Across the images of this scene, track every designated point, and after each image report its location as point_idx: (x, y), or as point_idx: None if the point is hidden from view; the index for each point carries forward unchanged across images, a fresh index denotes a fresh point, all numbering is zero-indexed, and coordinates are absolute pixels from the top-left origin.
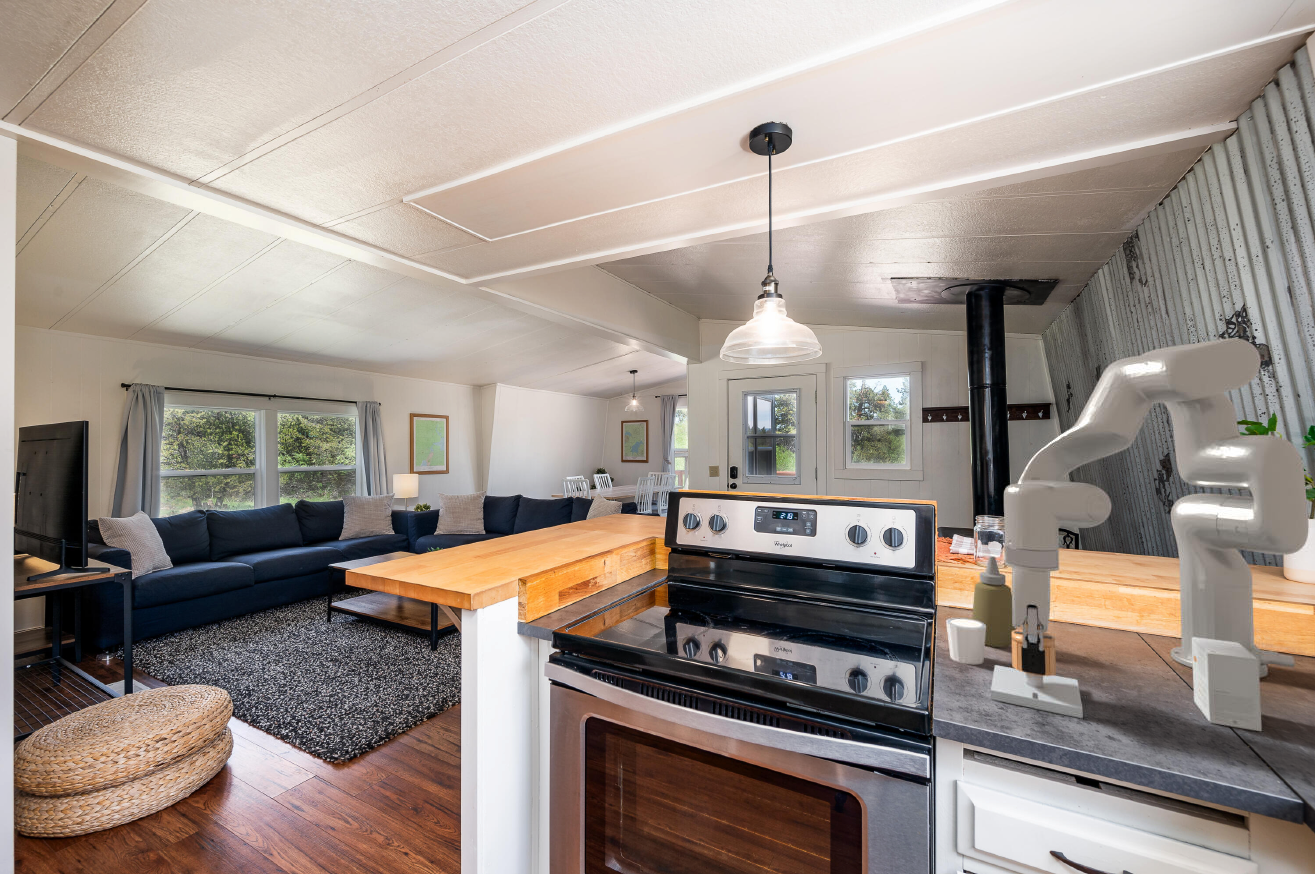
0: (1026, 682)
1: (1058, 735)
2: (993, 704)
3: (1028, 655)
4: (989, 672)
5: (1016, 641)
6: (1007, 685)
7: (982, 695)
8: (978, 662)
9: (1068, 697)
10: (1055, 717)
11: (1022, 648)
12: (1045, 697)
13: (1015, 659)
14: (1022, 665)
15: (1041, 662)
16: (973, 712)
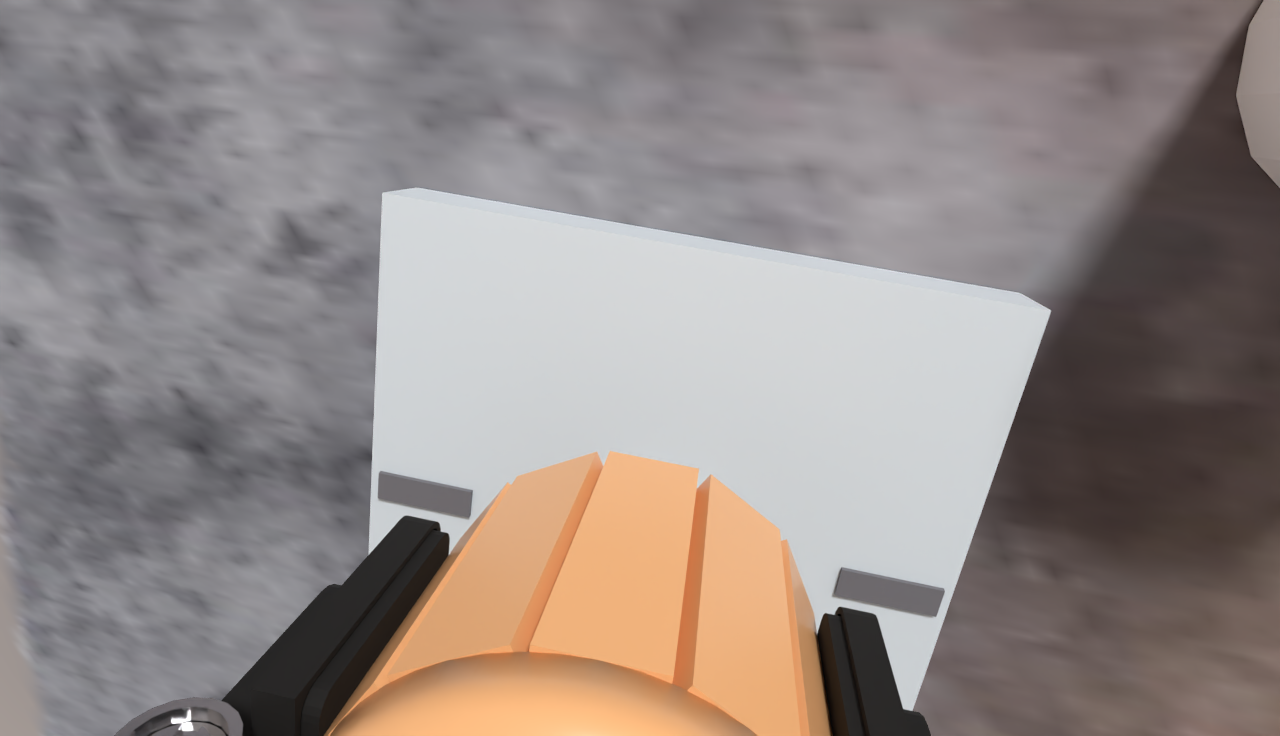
0: None
1: (104, 490)
2: (333, 194)
3: (251, 678)
4: (1028, 245)
5: (393, 685)
6: (549, 340)
7: (462, 129)
8: (1270, 167)
9: None
10: (331, 532)
11: (260, 682)
12: None
13: (514, 515)
14: (379, 544)
15: None
16: (119, 33)
